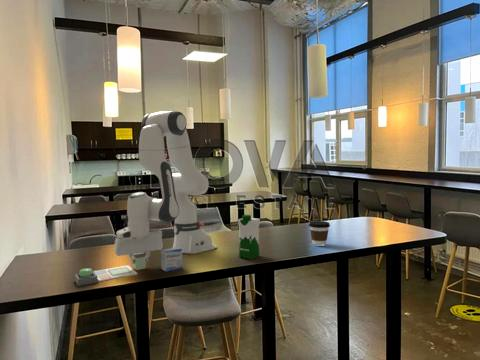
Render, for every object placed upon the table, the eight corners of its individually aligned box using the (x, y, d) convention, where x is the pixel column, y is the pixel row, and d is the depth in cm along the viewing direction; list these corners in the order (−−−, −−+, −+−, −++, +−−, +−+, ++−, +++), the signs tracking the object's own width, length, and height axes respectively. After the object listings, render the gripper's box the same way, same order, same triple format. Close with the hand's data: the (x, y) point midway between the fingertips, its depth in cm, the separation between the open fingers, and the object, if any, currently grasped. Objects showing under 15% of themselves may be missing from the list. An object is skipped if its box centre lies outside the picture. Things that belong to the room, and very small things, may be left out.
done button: (90, 275, 146) (90, 267, 146) (93, 278, 142) (92, 270, 142) (78, 277, 143) (78, 269, 143) (80, 280, 140) (80, 272, 140)
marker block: (142, 265, 162) (142, 252, 161) (145, 268, 159) (145, 254, 158) (133, 267, 160) (133, 253, 159) (136, 270, 156) (136, 256, 156)
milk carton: (236, 257, 173) (235, 215, 171) (246, 253, 180) (246, 212, 179) (252, 260, 168) (251, 217, 166) (262, 256, 175) (262, 214, 174)
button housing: (93, 277, 148) (93, 271, 148) (97, 282, 142) (97, 275, 142) (74, 280, 144) (74, 274, 144) (78, 286, 138) (77, 279, 138)
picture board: (128, 266, 161) (128, 264, 161) (137, 274, 151) (137, 272, 150) (91, 272, 153) (91, 271, 153) (98, 281, 142) (98, 280, 142)
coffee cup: (304, 245, 194) (304, 222, 193) (317, 241, 202) (317, 220, 201) (321, 249, 186) (321, 225, 185) (334, 245, 193) (334, 222, 193)
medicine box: (165, 272, 153) (165, 251, 153) (161, 269, 157) (160, 249, 156) (182, 268, 158) (182, 248, 157) (178, 265, 162) (177, 246, 161)
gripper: (159, 226, 166) (160, 257, 167) (112, 232, 155) (113, 264, 156) (164, 229, 161) (165, 260, 162) (116, 235, 150) (117, 268, 151)
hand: (139, 262), depth 159 cm, fingers closed on marker block, 4 cm apart
